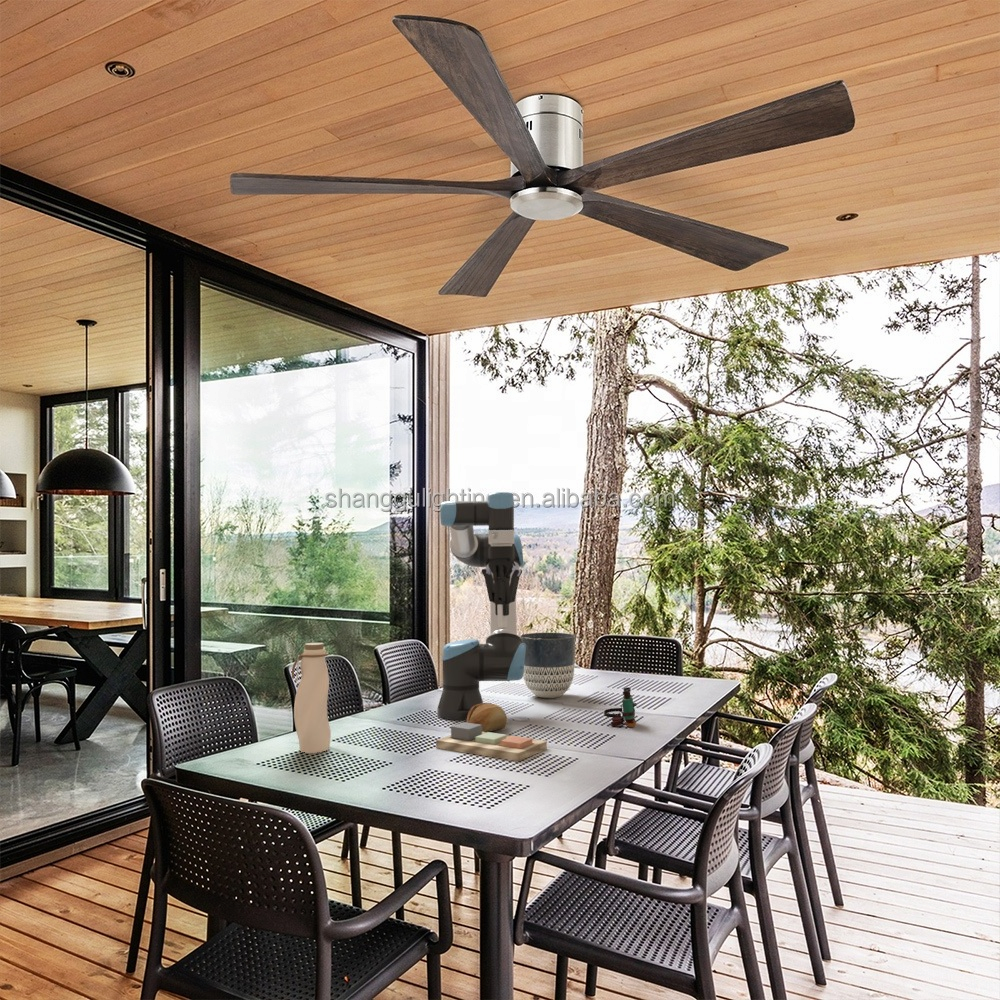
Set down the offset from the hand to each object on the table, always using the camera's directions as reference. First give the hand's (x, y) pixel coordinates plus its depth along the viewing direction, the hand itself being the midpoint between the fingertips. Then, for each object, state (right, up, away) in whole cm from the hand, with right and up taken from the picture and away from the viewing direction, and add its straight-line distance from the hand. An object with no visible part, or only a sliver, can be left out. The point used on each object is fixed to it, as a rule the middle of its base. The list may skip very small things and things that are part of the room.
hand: (502, 626), depth 231 cm
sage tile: (-3, -29, -19) cm, 35 cm away
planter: (+16, -33, +49) cm, 61 cm away
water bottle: (-51, -30, -19) cm, 62 cm away
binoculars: (+35, -30, +6) cm, 47 cm away
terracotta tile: (+4, -29, -24) cm, 37 cm away
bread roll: (-5, -31, 0) cm, 31 cm away
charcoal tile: (-10, -28, -15) cm, 33 cm away
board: (-3, -29, -19) cm, 35 cm away
